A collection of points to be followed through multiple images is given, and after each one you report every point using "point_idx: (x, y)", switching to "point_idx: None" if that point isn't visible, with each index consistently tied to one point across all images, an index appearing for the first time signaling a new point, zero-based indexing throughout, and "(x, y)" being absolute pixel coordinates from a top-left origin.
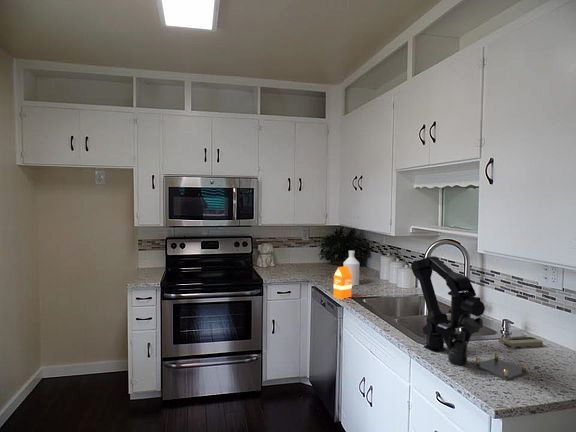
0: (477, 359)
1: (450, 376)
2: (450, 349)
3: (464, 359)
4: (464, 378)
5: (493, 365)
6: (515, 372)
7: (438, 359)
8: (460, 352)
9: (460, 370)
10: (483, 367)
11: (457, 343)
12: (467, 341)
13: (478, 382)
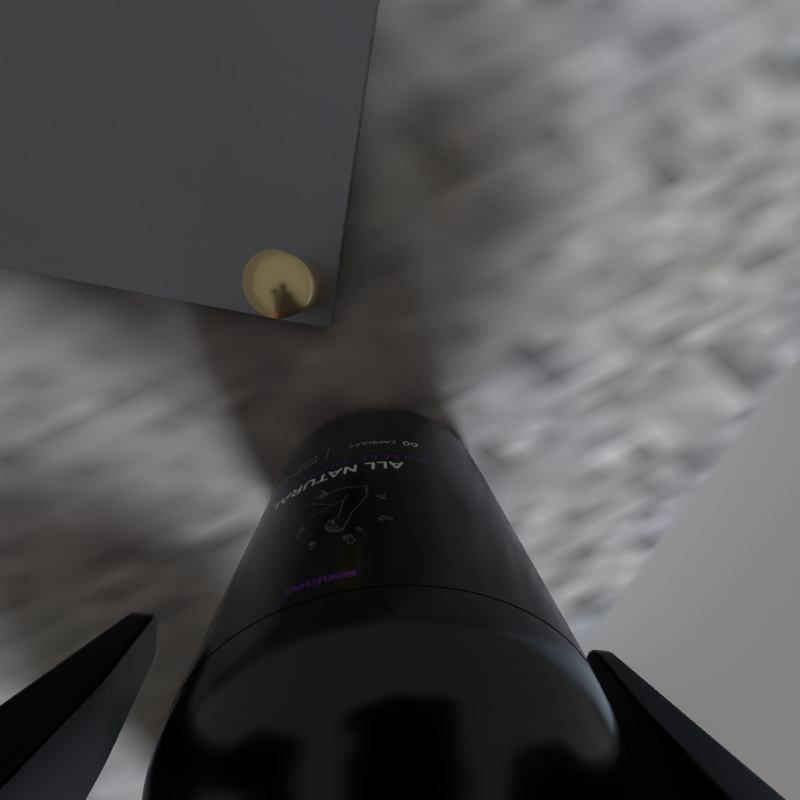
0: (310, 284)
1: (773, 361)
2: (615, 657)
3: (419, 432)
4: (735, 238)
5: (109, 109)
6: None
7: None
8: (504, 523)
9: (561, 370)
10: (321, 188)
11: (617, 743)
12: (73, 706)
13: (745, 60)
